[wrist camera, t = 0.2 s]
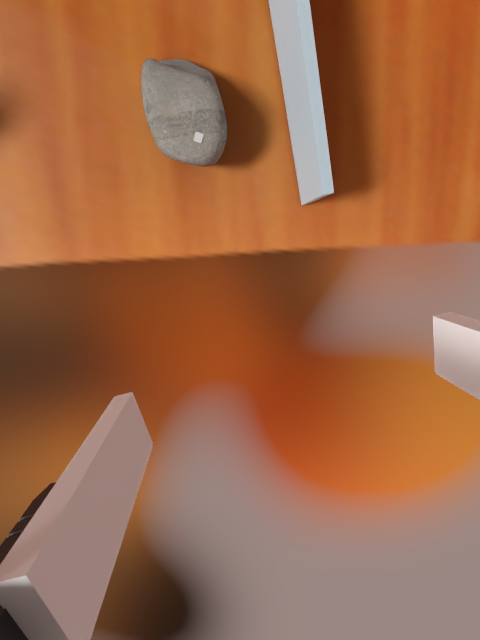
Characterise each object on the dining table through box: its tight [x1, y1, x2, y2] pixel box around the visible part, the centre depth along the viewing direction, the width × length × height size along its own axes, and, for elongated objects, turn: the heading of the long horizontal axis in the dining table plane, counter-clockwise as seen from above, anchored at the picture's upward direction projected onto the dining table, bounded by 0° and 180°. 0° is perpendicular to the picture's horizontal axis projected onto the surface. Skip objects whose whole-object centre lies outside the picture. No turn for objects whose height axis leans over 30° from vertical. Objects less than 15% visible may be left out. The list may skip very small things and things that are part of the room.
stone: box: [141, 59, 227, 166], centre depth 30 cm, size 9×9×10 cm
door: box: [269, 0, 334, 205], centre depth 28 cm, size 23×3×8 cm, turn 13°
